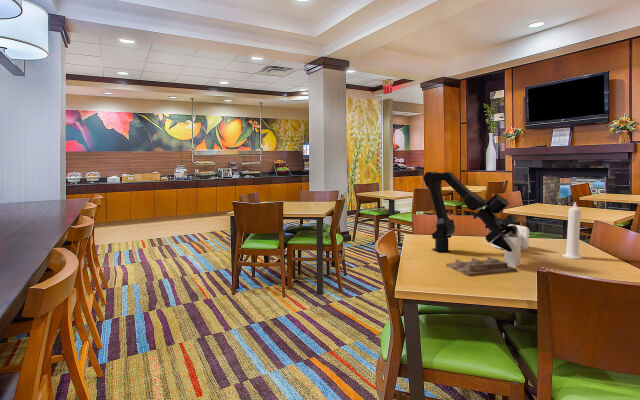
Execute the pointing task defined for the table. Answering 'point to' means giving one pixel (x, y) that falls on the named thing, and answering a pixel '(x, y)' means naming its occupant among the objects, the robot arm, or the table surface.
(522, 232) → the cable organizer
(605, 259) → the table surface
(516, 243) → the white tall block
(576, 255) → the candle
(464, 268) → the comb rack
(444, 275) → the table surface
